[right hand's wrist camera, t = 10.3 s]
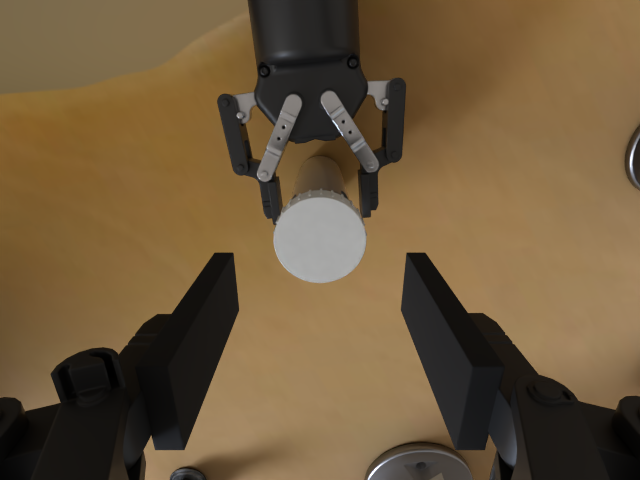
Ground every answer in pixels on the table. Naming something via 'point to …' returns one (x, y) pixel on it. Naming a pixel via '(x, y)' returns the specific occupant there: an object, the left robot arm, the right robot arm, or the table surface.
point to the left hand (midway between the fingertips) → (322, 218)
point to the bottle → (320, 177)
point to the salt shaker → (187, 475)
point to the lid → (320, 236)
